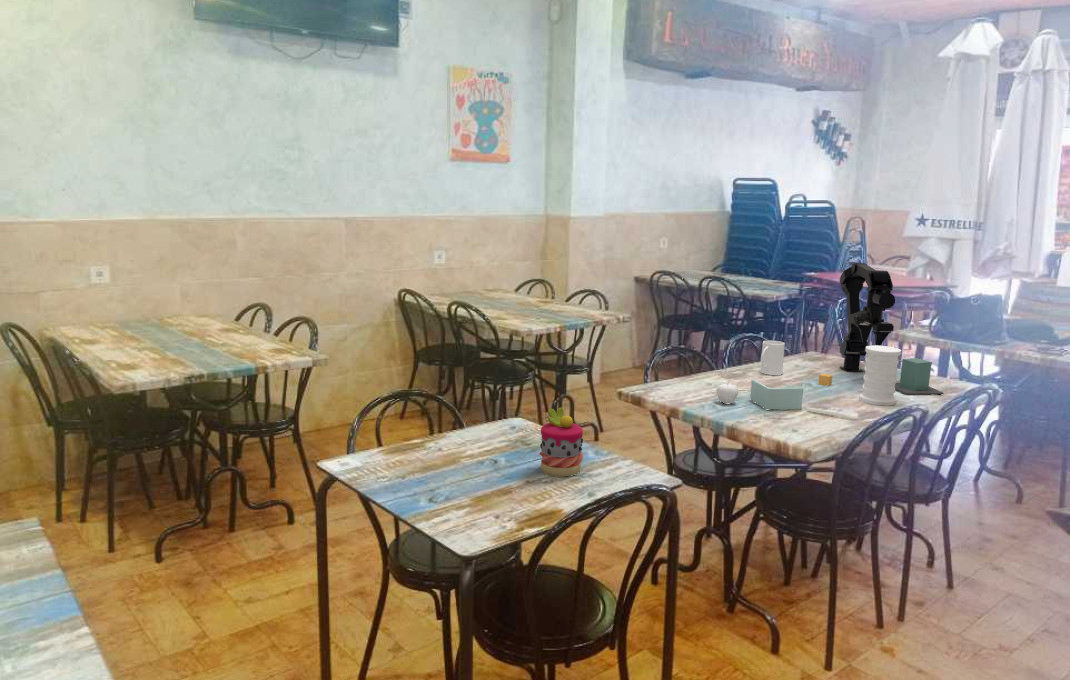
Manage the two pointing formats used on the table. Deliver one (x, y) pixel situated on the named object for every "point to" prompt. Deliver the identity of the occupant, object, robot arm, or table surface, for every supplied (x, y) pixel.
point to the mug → (772, 357)
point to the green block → (915, 374)
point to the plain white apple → (727, 392)
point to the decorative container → (880, 375)
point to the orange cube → (825, 379)
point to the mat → (918, 392)
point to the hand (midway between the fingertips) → (870, 346)
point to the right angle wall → (776, 396)
